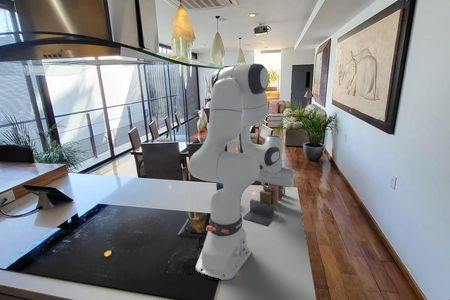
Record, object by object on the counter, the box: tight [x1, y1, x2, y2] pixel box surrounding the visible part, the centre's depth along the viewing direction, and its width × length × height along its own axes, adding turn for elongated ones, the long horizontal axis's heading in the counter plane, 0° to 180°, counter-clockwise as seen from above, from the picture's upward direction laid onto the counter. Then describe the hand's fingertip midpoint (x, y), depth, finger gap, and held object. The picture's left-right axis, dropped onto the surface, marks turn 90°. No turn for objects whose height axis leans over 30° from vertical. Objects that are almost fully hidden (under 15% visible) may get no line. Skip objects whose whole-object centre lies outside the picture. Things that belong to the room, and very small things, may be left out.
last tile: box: [259, 190, 271, 204], centre depth 117 cm, size 2×5×10 cm, turn 56°
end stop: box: [242, 199, 276, 227], centre depth 112 cm, size 9×12×6 cm
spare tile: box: [267, 183, 279, 205], centre depth 125 cm, size 2×5×10 cm, turn 57°
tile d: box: [263, 186, 276, 205], centre depth 121 cm, size 2×5×10 cm, turn 56°
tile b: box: [278, 185, 283, 201], centre depth 129 cm, size 2×5×10 cm, turn 57°
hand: (273, 191), depth 125 cm, fingers open, 8 cm apart
